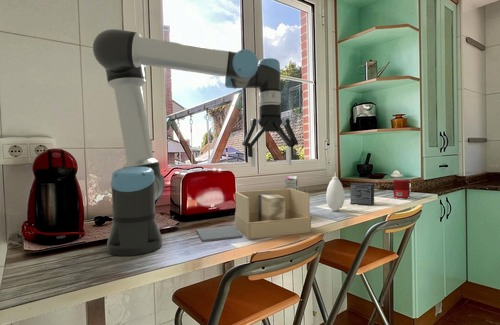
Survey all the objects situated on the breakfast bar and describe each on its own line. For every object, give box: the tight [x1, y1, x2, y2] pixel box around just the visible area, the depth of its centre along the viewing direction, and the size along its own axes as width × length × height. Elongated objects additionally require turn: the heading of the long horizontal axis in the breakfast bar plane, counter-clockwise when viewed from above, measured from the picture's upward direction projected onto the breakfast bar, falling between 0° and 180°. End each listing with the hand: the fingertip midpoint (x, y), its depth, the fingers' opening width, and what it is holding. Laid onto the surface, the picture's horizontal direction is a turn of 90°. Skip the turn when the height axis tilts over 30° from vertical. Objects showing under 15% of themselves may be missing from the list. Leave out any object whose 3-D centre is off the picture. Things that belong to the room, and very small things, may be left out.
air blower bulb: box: [325, 171, 345, 212], centre depth 136 cm, size 8×8×18 cm
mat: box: [196, 225, 243, 243], centre depth 101 cm, size 13×13×1 cm
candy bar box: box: [285, 175, 299, 191], centre depth 128 cm, size 11×5×16 cm, turn 168°
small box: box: [350, 182, 375, 206], centre depth 151 cm, size 11×6×10 cm, turn 58°
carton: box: [234, 188, 312, 240], centre depth 106 cm, size 23×16×13 cm
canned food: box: [393, 177, 411, 199], centre depth 168 cm, size 8×8×11 cm
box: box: [259, 193, 285, 222], centre depth 106 cm, size 6×10×12 cm, turn 18°
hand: (271, 165), depth 106 cm, fingers open, 13 cm apart
